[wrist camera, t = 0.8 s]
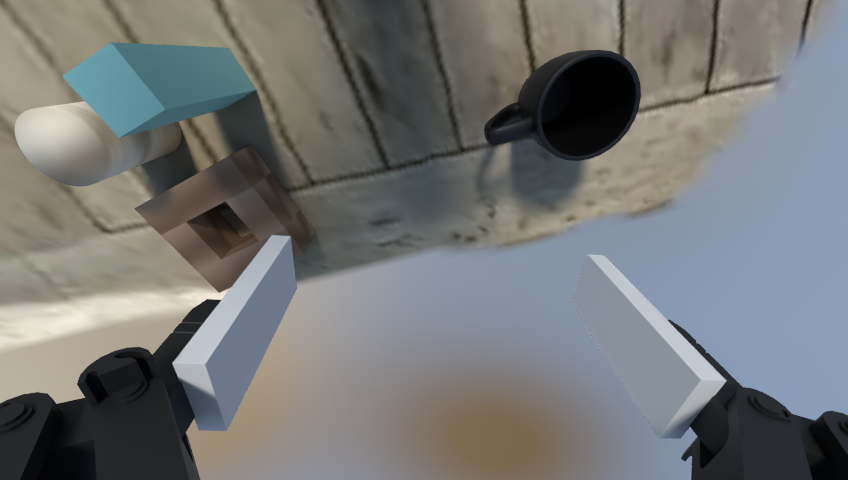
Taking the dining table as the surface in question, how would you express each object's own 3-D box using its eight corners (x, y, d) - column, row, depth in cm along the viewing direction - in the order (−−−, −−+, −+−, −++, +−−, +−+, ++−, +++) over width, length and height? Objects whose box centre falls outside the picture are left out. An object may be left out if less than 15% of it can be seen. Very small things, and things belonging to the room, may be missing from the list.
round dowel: (104, 111, 33) (-4, 130, 25) (148, 83, 32) (51, 92, 24) (151, 163, 36) (69, 198, 27) (194, 139, 35) (122, 166, 26)
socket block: (166, 190, 38) (134, 208, 33) (250, 144, 35) (228, 156, 31) (238, 268, 43) (219, 292, 39) (315, 232, 41) (304, 253, 36)
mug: (463, 76, 33) (481, 83, 25) (584, 40, 32) (645, 35, 24) (478, 155, 37) (497, 184, 29) (586, 125, 36) (639, 146, 28)
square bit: (195, 68, 32) (61, 76, 20) (228, 47, 31) (110, 42, 19) (224, 108, 34) (119, 137, 21) (256, 89, 33) (165, 109, 21)
